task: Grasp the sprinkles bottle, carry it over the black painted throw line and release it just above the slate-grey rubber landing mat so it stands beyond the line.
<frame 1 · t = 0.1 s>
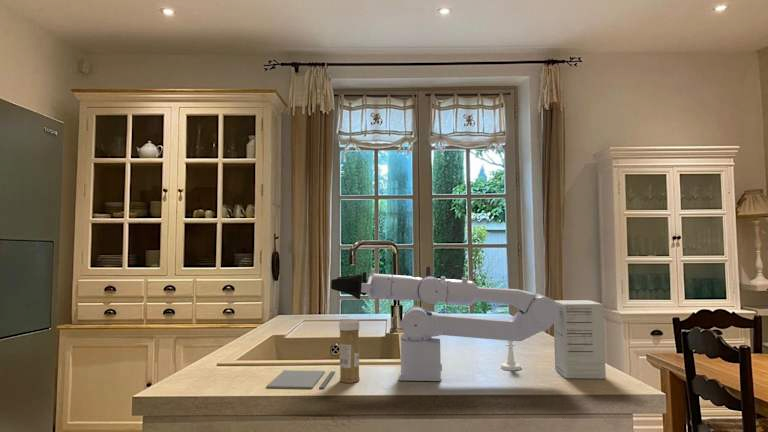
hand: (334, 282, 125), 22 cm above the counter, tool horizontal, fingers open, 7 cm apart
sprinkles bottle: (349, 381, 120), on the counter
chess piece: (511, 368, 131), on the counter
supplement box: (579, 374, 125), on the counter
landing mat: (297, 379, 121), on the counter
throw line: (327, 380, 121), on the counter
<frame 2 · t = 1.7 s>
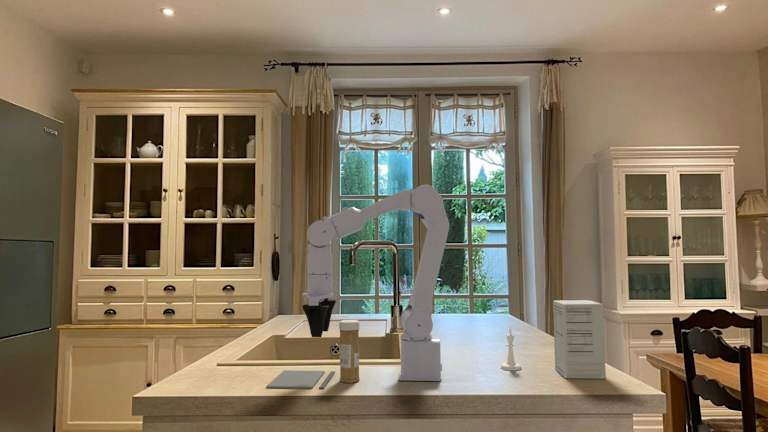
hand: (320, 334, 121), 10 cm above the counter, tool pointing down, fingers open, 7 cm apart
nothing on the counter moved.
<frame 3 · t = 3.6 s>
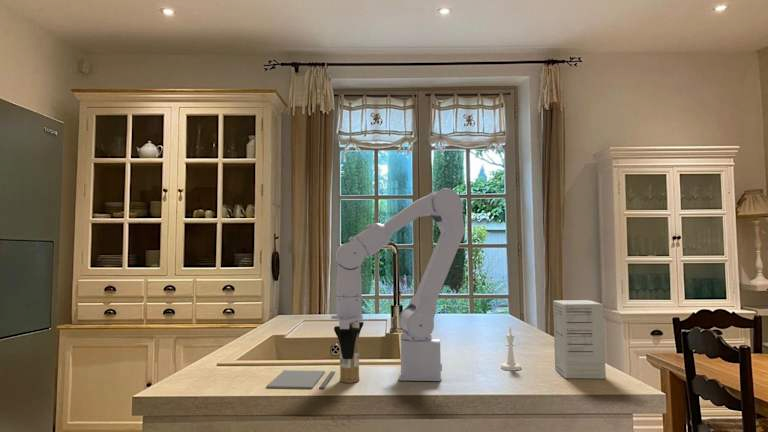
hand: (349, 356, 120), 5 cm above the counter, tool pointing down, fingers closed on sprinkles bottle, 4 cm apart
sprinkles bottle: (349, 381, 120), on the counter, touching gripper
everything else where it was.
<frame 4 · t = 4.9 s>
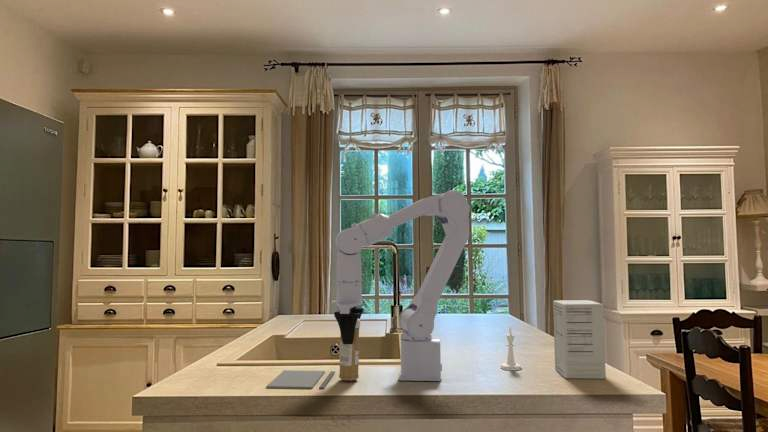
hand: (349, 341, 121), 9 cm above the counter, tool pointing down, fingers closed on sprinkles bottle, 4 cm apart
sprinkles bottle: (348, 379, 120), on the counter, touching gripper
everything else where it was.
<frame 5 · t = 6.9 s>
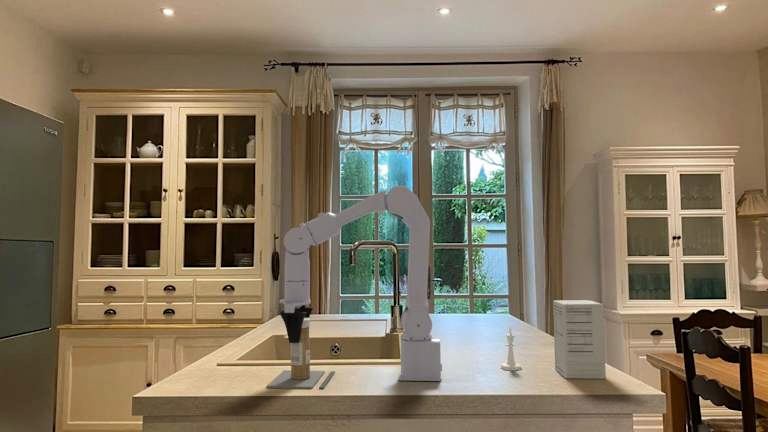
hand: (297, 340, 122), 9 cm above the counter, tool pointing down, fingers closed on sprinkles bottle, 4 cm apart
sprinkles bottle: (300, 378, 121), resting on landing mat, touching gripper
everything else where it was.
when the fingers open (7 cm above the counter, at t = 7.7 s): sprinkles bottle stays where it is, resting on landing mat.
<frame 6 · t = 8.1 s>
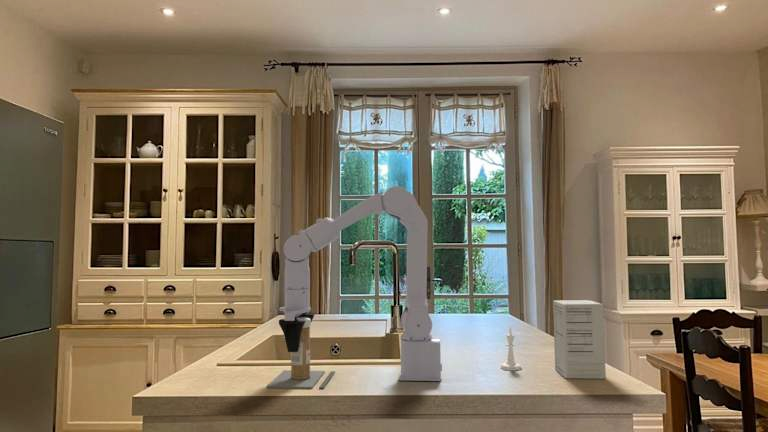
hand: (297, 348, 122), 7 cm above the counter, tool pointing down, fingers open, 7 cm apart
sprinkles bottle: (300, 378, 121), resting on landing mat
everything else where it was.
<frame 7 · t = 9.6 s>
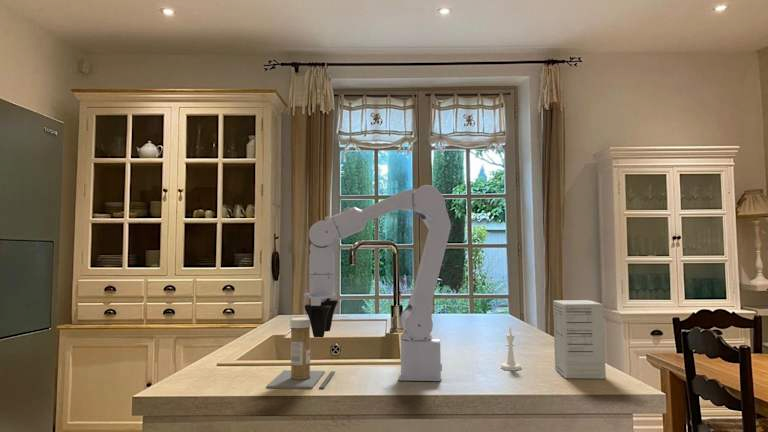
hand: (322, 334, 121), 10 cm above the counter, tool pointing down, fingers open, 7 cm apart
nothing on the counter moved.
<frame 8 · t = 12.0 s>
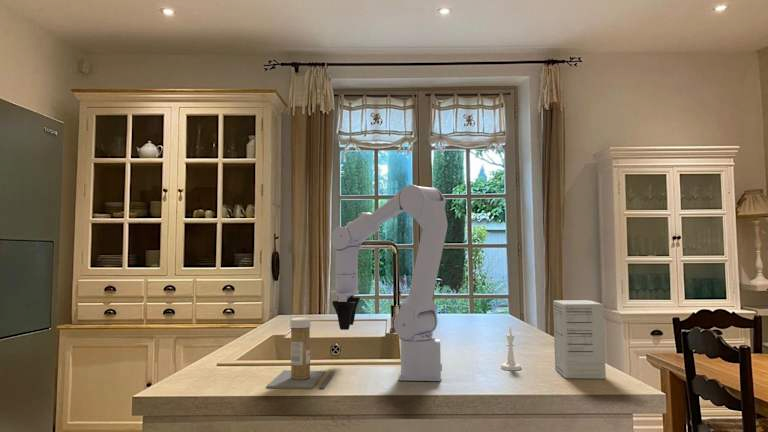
hand: (346, 327, 137), 9 cm above the counter, tool pointing down, fingers open, 7 cm apart
nothing on the counter moved.
at the end: sprinkles bottle inside the target area (0.8 cm from its centre), resting on landing mat; sprinkles bottle tilted 0°; the gripper is holding nothing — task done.
